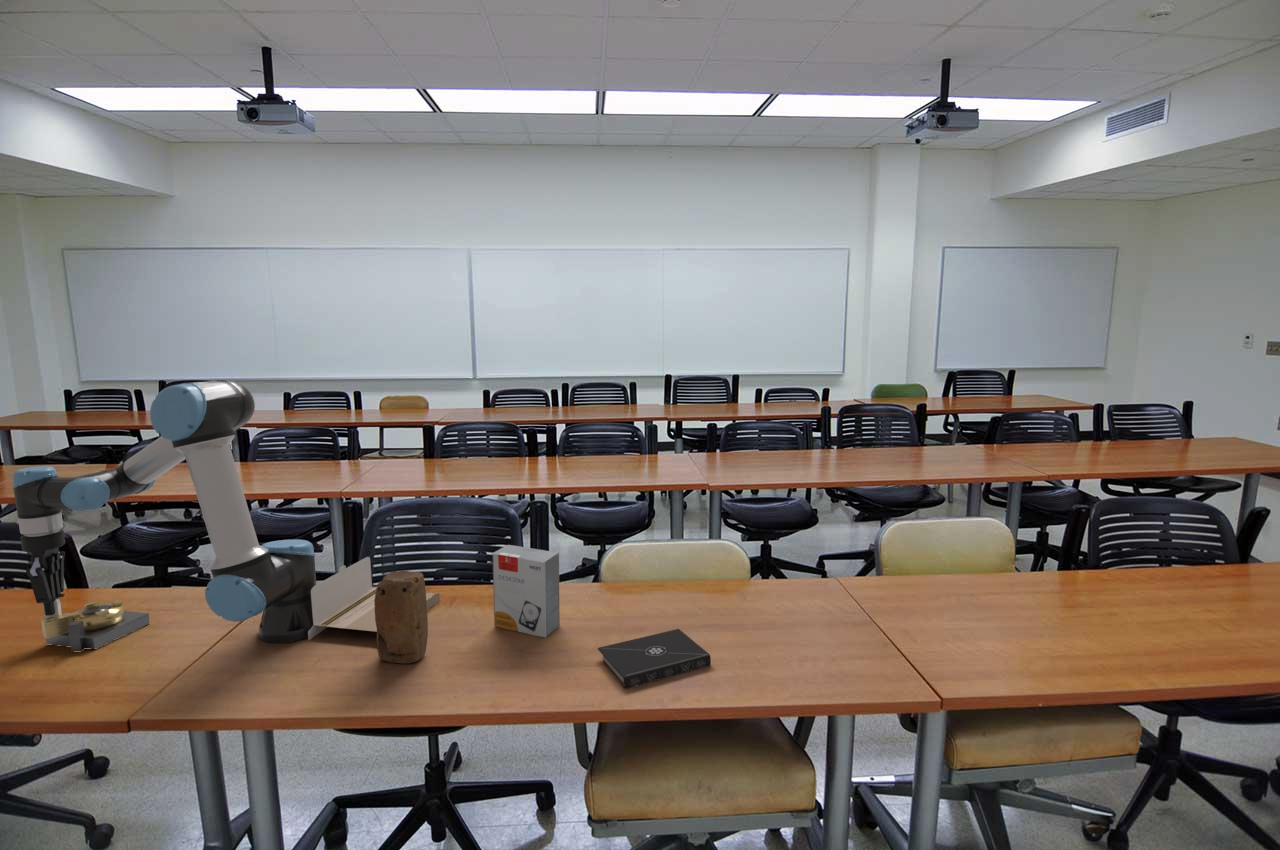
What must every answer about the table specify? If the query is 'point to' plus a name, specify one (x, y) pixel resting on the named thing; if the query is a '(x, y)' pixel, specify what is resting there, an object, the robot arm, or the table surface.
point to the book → (654, 657)
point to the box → (348, 600)
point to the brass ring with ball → (84, 618)
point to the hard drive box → (526, 590)
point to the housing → (99, 632)
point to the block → (401, 617)
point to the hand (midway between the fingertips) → (54, 625)
